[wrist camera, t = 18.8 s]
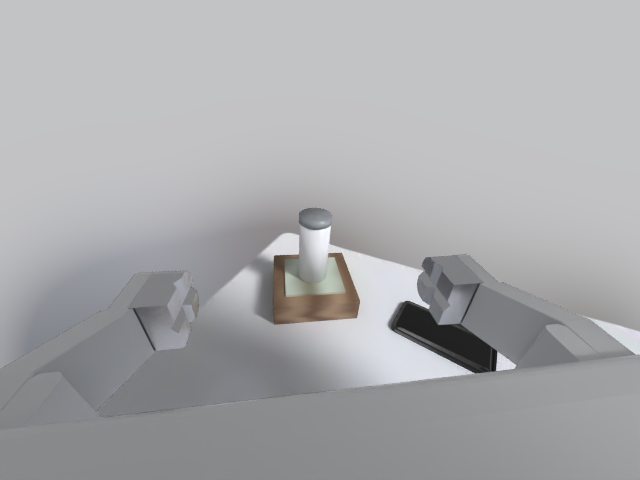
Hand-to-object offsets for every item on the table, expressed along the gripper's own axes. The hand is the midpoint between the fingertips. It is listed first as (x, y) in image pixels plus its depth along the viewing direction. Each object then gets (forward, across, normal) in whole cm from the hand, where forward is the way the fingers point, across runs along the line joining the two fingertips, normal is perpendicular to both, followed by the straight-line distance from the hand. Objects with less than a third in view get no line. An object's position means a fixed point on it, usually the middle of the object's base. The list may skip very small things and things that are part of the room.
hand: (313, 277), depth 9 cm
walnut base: (+29, -3, +28) cm, 40 cm away
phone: (+17, -23, +29) cm, 41 cm away
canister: (+29, -3, +24) cm, 37 cm away
